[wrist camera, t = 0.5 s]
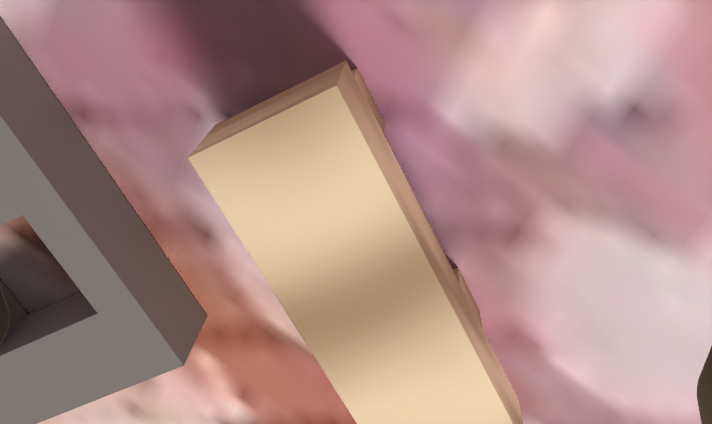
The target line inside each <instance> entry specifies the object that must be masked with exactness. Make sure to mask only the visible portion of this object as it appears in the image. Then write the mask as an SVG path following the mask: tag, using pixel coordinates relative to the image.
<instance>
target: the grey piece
mask: <svg viewBox="0 0 712 424" xmlns="http://www.w3.org/2000/svg"><path fill="white" fill-rule="evenodd" d="M22 215H23V217H24V218H25V219H26V221H27V222H28V223H29V224H30V226H31V227H32V228H33V230H34V231H35V232H36V234H37V235H38V236H39V238H40V239H41V240H42V241H43V243H44V244H45V245H46V247H47V248H48V249H49V251H50V252H51V253H52V254H53V256H54V257H55V258H56V260H57V261H58V262H59V264H60V265H61V266H62V268H63V269H64V270H65V271H66V273H67V274H68V275H69V277H70V278H71V279H72V281H73V282H74V283H75V284H76V286H77V287H78V288H79V290H80V292H78V293H75V294H73V295H71V296H69V297H66V298H64V299H62V300H60V301H57V302H55V303H53V304H51V305H49V306H46V307H44V308H42V309H40V310H37V311H35V312H33V313H31V314H28V313H27V312H26V310H25V309H24V308H23V307H22V306H21V304H20V303H19V302H18V301H17V299H16V298H15V297H14V296H13V294H12V293H11V292H10V291H9V290H8V288H7V287H6V286H5V285H4V283H3V282H2V281H1V280H0V286H1V289H2V291H3V294H4V297H5V300H6V303H7V305H8V308H9V312H10V323H9V327H8V330H7V333H6V335H5V337H4V339H3V341H2V343H1V345H0V424H36V423H39V422H42V421H44V420H47V419H49V418H52V417H54V416H57V415H59V414H62V413H64V412H67V411H69V410H72V409H74V408H77V407H80V406H82V405H85V404H87V403H90V402H92V401H95V400H97V399H100V398H102V397H105V396H107V395H110V394H113V393H115V392H118V391H120V390H123V389H125V388H128V387H130V386H133V385H135V384H138V383H140V382H143V381H145V380H148V379H151V378H153V377H156V376H158V375H161V374H163V373H166V372H168V371H171V370H173V369H176V368H178V367H181V366H184V364H185V362H186V360H187V358H188V355H189V353H190V351H191V349H192V347H193V345H194V343H195V341H196V339H197V337H198V335H199V332H200V330H201V328H202V326H203V324H204V322H205V320H206V318H207V315H206V313H205V312H204V310H203V309H202V307H201V306H200V305H199V303H198V302H197V300H196V299H195V297H194V296H193V294H192V293H191V292H190V290H189V289H188V287H187V286H186V284H185V283H184V281H183V280H182V279H181V277H180V276H179V274H178V273H177V271H176V270H175V268H174V267H173V266H172V264H171V263H170V261H169V260H168V258H167V257H166V255H165V254H164V253H163V251H162V250H161V248H160V247H159V245H158V244H157V242H156V241H155V240H154V238H153V237H152V235H151V234H150V232H149V231H148V229H147V228H146V227H145V225H144V224H143V222H142V221H141V219H140V218H139V216H138V215H137V214H136V212H135V211H134V209H133V208H132V206H131V205H130V203H129V202H128V201H127V199H126V198H125V196H124V195H123V193H122V192H121V190H120V189H119V188H118V186H117V185H116V183H115V182H114V180H113V179H112V177H111V176H110V175H109V173H108V172H107V170H106V169H105V167H104V166H103V164H102V163H101V162H100V160H99V159H98V157H97V156H96V154H95V153H94V151H93V150H92V149H91V147H90V146H89V144H88V143H87V141H86V140H85V139H84V137H83V136H82V134H81V133H80V131H79V130H78V128H77V127H76V126H75V124H74V123H73V121H72V120H71V118H70V117H69V115H68V114H67V113H66V111H65V110H64V108H63V107H62V105H61V104H60V102H59V101H58V100H57V98H56V97H55V95H54V94H53V92H52V91H51V89H50V88H49V87H48V85H47V84H46V82H45V81H44V79H43V78H42V76H41V75H40V74H39V72H38V71H37V69H36V68H35V66H34V65H33V63H32V62H31V61H30V59H29V58H28V56H27V55H26V53H25V52H24V50H23V49H22V48H21V46H20V45H19V43H18V42H17V40H16V39H15V37H14V36H13V35H12V33H11V32H10V30H9V29H8V27H7V26H6V24H5V23H4V22H3V20H2V19H1V17H0V226H2V225H4V224H6V223H8V222H10V221H12V220H14V219H16V218H18V217H20V216H22Z"/></svg>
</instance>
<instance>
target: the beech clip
mask: <svg viewBox="0 0 712 424" xmlns="http://www.w3.org/2000/svg"><path fill="white" fill-rule="evenodd" d="M384 124H385V122H384V120H383V118H382V116H381V114H380V112H379V110H378V108H377V106H376V104H375V102H374V100H373V98H372V96H371V94H370V92H369V90H368V88H367V86H366V84H365V82H364V80H363V78H362V76H361V74H360V72H359V70H358V68H355V69H353V70H351V69H350V67H349V65H348V63H347V61H344V62H342V63H340V64H338V65H336V66H334V67H332V68H330V69H328V70H326V71H323V72H321V73H319V74H317V75H315V76H313V77H311V78H309V79H307V80H305V81H303V82H301V83H299V84H297V85H295V86H293V87H291V88H289V89H287V90H285V91H283V92H281V93H279V94H277V95H275V96H273V97H271V98H269V99H267V100H265V101H263V102H261V103H259V104H257V105H255V106H253V107H251V108H249V109H247V110H245V111H243V112H241V113H239V114H237V115H235V116H233V117H231V118H229V119H227V120H225V121H223V122H221V123H219V124H217V125H215V126H214V127H213V128H212V130H211V131H210V132H209V133H208V134H207V136H206V137H205V138H204V139H203V140H202V142H201V143H200V144H199V145H198V146H197V147H196V149H195V150H194V151H193V152H192V153H191V155H190V156H189V157H188V159H189V161H190V162H191V164H192V165H193V167H194V168H195V170H196V172H197V173H198V175H199V176H200V178H201V179H202V181H203V183H204V184H205V186H206V187H207V189H208V190H209V192H210V194H211V195H212V197H213V198H214V200H215V201H216V203H217V205H218V206H219V208H220V209H221V211H222V212H223V214H224V216H225V217H226V219H227V220H228V222H229V223H230V225H231V226H232V228H233V230H234V231H235V233H236V234H237V236H238V237H239V239H240V241H241V242H242V244H243V245H244V247H245V248H246V250H247V252H248V253H249V255H250V256H251V258H252V259H253V261H254V263H255V264H256V266H257V267H258V269H259V270H260V272H261V274H262V275H263V277H264V278H265V280H266V281H267V283H268V285H269V286H270V288H271V289H272V291H273V292H274V294H275V296H276V297H277V299H278V300H279V302H280V303H281V305H282V307H283V308H284V310H285V311H286V313H287V314H288V316H289V318H290V319H291V321H292V322H293V324H294V325H295V327H296V329H297V330H298V332H299V333H300V335H301V336H302V338H303V340H304V341H305V343H306V344H307V346H308V347H309V349H310V351H311V352H312V354H313V355H314V357H315V358H316V360H317V362H318V363H319V365H320V366H321V368H322V369H323V371H324V372H325V374H326V376H327V377H328V379H329V380H330V382H331V383H332V385H333V387H334V388H335V390H336V391H337V393H338V394H339V396H340V398H341V399H342V401H343V402H344V404H345V405H346V407H347V409H348V410H349V412H350V413H351V415H352V416H353V418H354V420H355V421H356V423H357V424H523V419H522V414H521V410H520V405H519V401H518V398H517V396H516V394H515V392H514V390H513V388H512V386H511V384H510V382H509V380H508V378H507V376H506V374H505V372H504V370H503V368H502V366H501V364H500V362H499V360H498V358H497V356H496V354H495V352H494V350H493V348H492V347H491V345H490V343H489V341H488V339H487V337H486V335H485V333H484V331H483V329H482V323H481V317H480V311H479V309H478V307H477V305H476V303H475V301H474V299H473V297H472V295H471V293H470V291H469V289H468V287H467V285H466V283H465V281H464V279H463V277H462V275H461V273H460V271H459V269H458V267H457V268H455V269H452V268H451V266H450V264H449V262H448V260H447V258H446V256H445V254H444V252H443V250H442V248H441V246H440V244H439V242H438V240H437V238H436V236H435V234H434V232H433V230H432V228H431V227H430V225H429V223H428V221H427V219H426V217H425V215H424V213H423V211H422V209H421V207H420V205H419V203H418V201H417V199H416V197H415V195H414V193H413V191H412V189H411V187H410V185H409V183H408V181H407V179H406V177H405V175H404V173H403V171H402V169H401V167H400V166H399V164H398V162H397V160H396V158H395V156H394V154H393V152H392V150H391V148H390V146H389V144H388V142H387V140H386V138H385V136H384Z"/></svg>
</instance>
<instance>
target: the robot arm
mask: <svg viewBox="0 0 712 424" xmlns="http://www.w3.org/2000/svg"><path fill="white" fill-rule="evenodd" d="M9 323H10V312H9V308H8V305H7V303H6V300H5V297H4V294H3V291H2V289H1V286H0V345H1V343H2V341H3V339H4V337H5V335H6V333H7V330H8V327H9ZM697 400H698V406H699V411H700V416H701V421H702V424H712V347H711V349H710V352H709V354H708V357H707V359H706V362H705V364H704V367H703V369H702V372H701V374H700V377H699V380H698V385H697Z"/></svg>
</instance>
